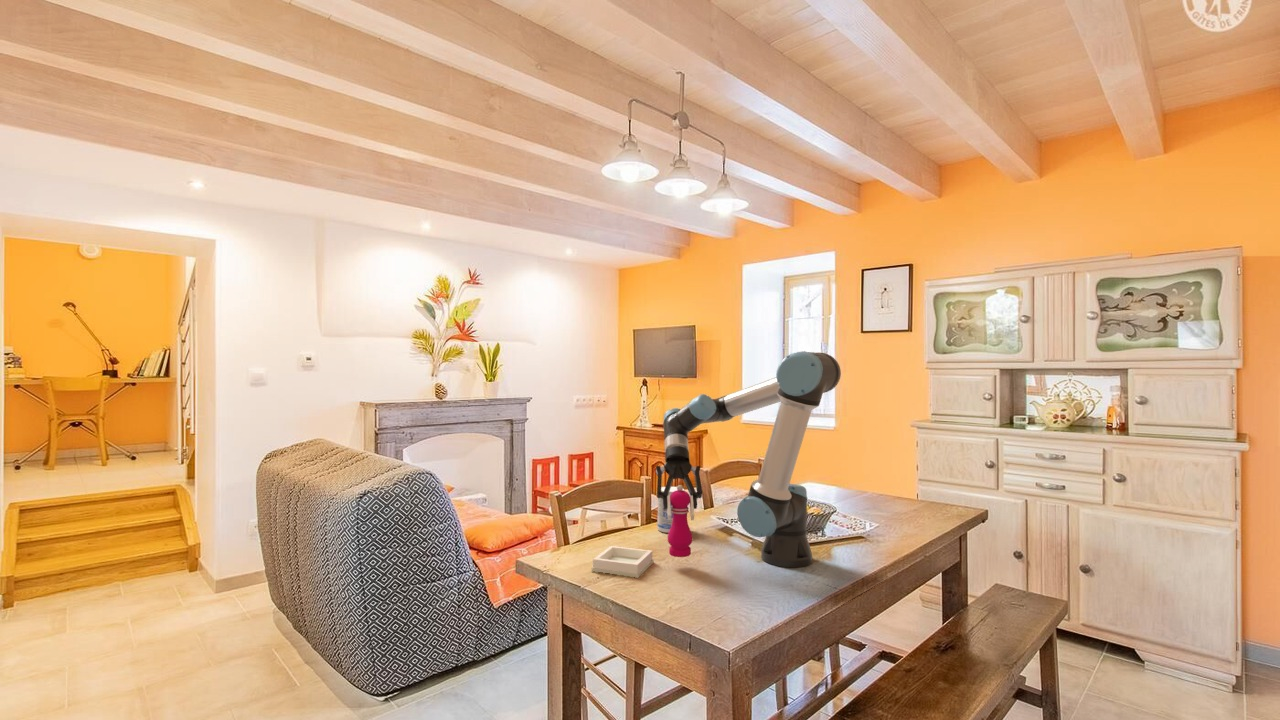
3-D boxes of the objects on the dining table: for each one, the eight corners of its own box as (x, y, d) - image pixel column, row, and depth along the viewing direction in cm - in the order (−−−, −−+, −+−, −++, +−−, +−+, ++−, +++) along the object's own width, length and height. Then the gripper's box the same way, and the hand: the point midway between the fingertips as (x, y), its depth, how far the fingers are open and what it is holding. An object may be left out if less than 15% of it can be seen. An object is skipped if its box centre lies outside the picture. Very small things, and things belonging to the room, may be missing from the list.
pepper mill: (678, 559, 170) (678, 488, 170) (662, 553, 176) (662, 484, 176) (697, 554, 175) (697, 485, 175) (681, 548, 180) (681, 481, 181)
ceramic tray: (653, 562, 180) (653, 550, 180) (637, 577, 167) (638, 565, 167) (610, 556, 185) (610, 545, 185) (591, 571, 171) (591, 559, 171)
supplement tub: (662, 534, 209) (662, 492, 209) (653, 527, 218) (654, 486, 218) (688, 532, 211) (688, 490, 212) (678, 525, 221) (679, 485, 221)
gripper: (706, 459, 191) (713, 524, 175) (646, 459, 191) (647, 524, 174) (708, 444, 186) (715, 510, 169) (646, 444, 186) (648, 510, 169)
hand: (681, 517), depth 172 cm, fingers closed on pepper mill, 6 cm apart
